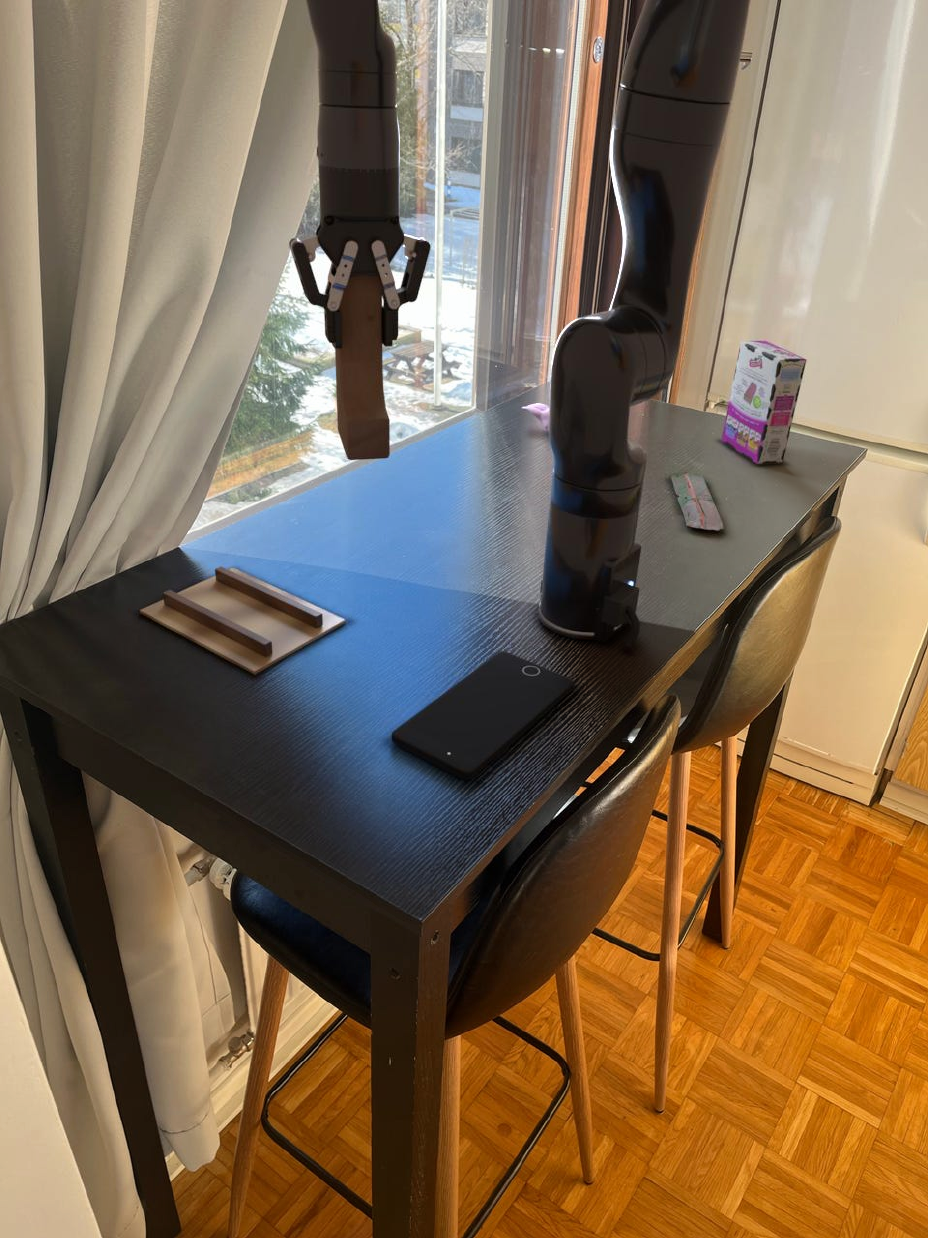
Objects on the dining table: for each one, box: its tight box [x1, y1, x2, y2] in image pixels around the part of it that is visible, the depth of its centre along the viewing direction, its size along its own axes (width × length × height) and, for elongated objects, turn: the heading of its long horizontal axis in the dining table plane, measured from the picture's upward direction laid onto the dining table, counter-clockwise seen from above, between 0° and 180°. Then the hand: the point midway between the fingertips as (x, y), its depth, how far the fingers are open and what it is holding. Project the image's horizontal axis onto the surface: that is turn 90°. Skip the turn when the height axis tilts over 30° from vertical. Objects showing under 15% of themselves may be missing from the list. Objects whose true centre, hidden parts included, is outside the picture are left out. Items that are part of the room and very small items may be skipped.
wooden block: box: [334, 269, 391, 461], centre depth 98 cm, size 9×4×18 cm, turn 13°
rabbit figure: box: [521, 402, 549, 433], centre depth 153 cm, size 6×6×15 cm
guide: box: [139, 565, 346, 675], centre depth 102 cm, size 18×13×2 cm
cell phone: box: [391, 650, 576, 781], centre depth 89 cm, size 9×18×1 cm, turn 144°
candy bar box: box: [721, 340, 807, 466], centre depth 147 cm, size 11×5×16 cm, turn 17°
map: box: [670, 472, 724, 531], centre depth 133 cm, size 5×20×1 cm, turn 176°
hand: (362, 344), depth 97 cm, fingers closed on wooden block, 4 cm apart
